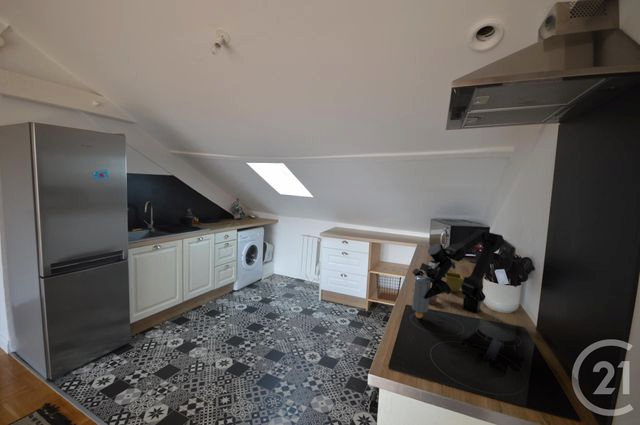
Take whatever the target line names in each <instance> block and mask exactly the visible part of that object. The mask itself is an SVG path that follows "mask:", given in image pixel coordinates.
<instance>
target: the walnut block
mask: <svg viewBox="0 0 640 425" xmlns="http://www.w3.org/2000/svg"><path fill="white" fill-rule="evenodd" d="M437 298H438V296H437V295H435V296H432V297H430V298H429V304H430V305H435V304H436V303H437V300H438V299H437Z"/></svg>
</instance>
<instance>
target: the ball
mask: <svg viewBox="0 0 640 425" xmlns="http://www.w3.org/2000/svg"><path fill="white" fill-rule="evenodd" d="M414 315H415V316H416V318H418V319H422V318H423V317H424V312H417V311H415V314H414Z"/></svg>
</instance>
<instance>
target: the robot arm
mask: <svg viewBox="0 0 640 425" xmlns="http://www.w3.org/2000/svg"><path fill="white" fill-rule="evenodd" d="M504 242H505V239H504V237H503V235H501V234H498V233H492V232H489V231H487V230H483V229H476V231H475V232H473V233H472V234H471V235H469V236H467V237H466V238H465V239H463V240H461V241H460V242H458V243H452V244H449V245H448V246H446V247H444V246H443V244H442V243H440V242H438V243H436V244H434V245H431V246H430V247H428V249H427V254H429V256H430V257H431V259H432V261H435V262H437V263H436V264H435V266H434V265H431V266H429V265H428V264H426V263H424V262H422V263H421V264H420V267H419V268H414V269H413V271H412V274H413V275H414V278H415V277H416V276H424V277H427V278H429V279H430V282H431V286H430V290H429V291H428V292H427V293H426V295H425V296H424V298H425V299H427V298H430V297H432V296H435V295H438V296H439V295H441V294H442V295H444V294H446V295H449V294H450V293H451V292H452V291H451V288H450V286H449V285H448V284H447V282H445V280H443V278H444V279H445V278H446V275H445V274H446V273H447V272H449V271H450V270H451V269H454V270H455V269H456V263H455V262H461V261H462V260H463V259H464V258H465V257H466V256H467V252H468V251H470V250H471V249H473V248H474V247H476V246H477V245H479V244H481V246H482V249H481V250H480V251H481V252H480V253H479V256H478V258H477V261H476V263H475V265H474V267H473V270H472V272H471V274H470V275H469V276H464V277H463V281H462V283H461V284H462V285H461V288H460V289H461V293H462V295H464V297H463V300H462V301H463V302H462V307H461V308H462V309H463V310H466V311H469V312H471V313H473V314H477V313H479V312H481V311H482V308H481V305H482V304H481V303H483V301H485V300H486V297H487V296H486V295H485V293H484V291H483V288H484V285H483V279H484V276H485V274H486V273H487V272H486V271H487V269H488V267H489V265H490V262H491V260H492V258H493V256H494V254H495V252H497V251H499V250H500V249H501V247H502V246H503V244H505V243H504ZM452 260H453V261H452ZM454 261H455V262H454Z"/></svg>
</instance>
